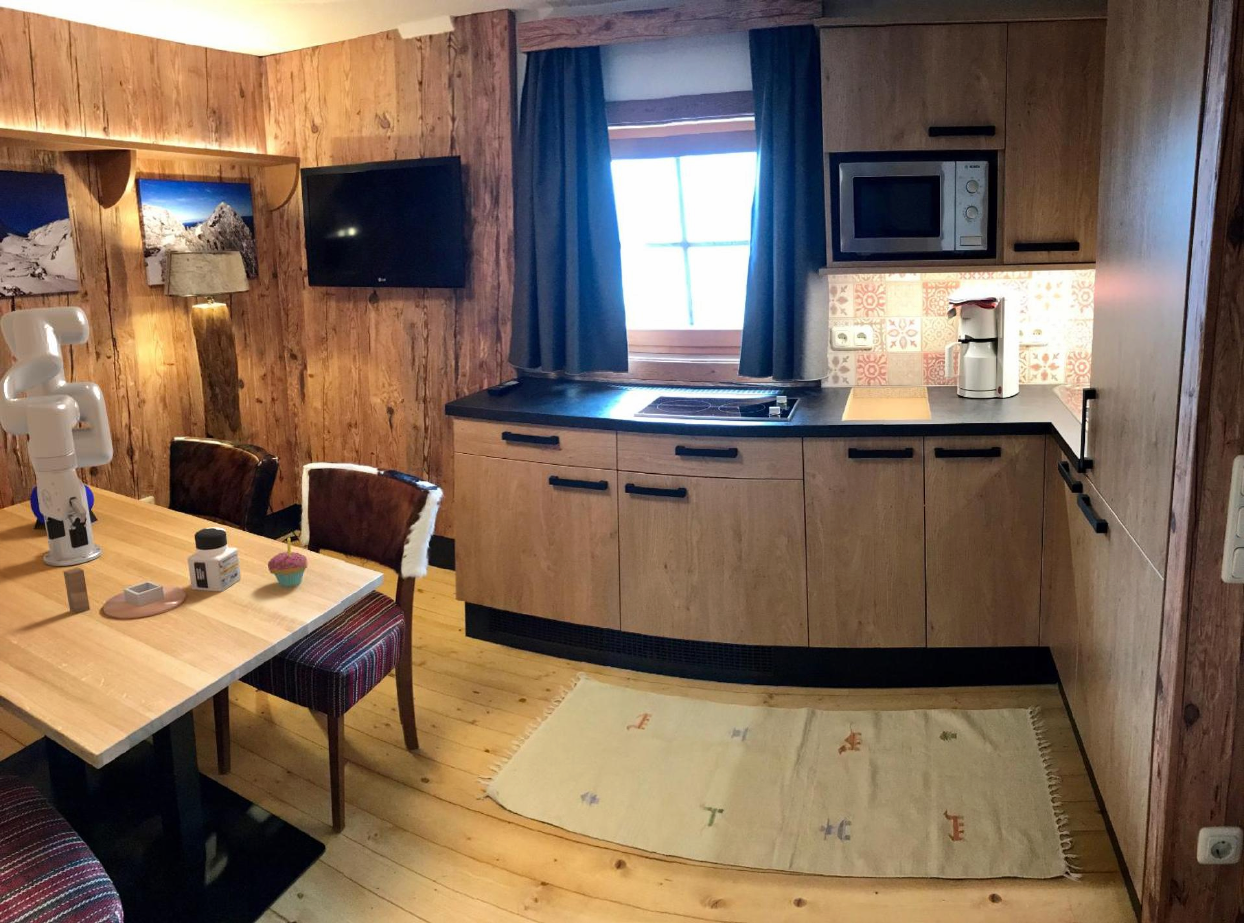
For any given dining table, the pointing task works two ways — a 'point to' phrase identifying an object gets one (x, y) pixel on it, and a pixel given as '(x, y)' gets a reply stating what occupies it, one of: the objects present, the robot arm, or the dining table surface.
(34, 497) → the alarm clock
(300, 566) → the cupcake
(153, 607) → the clip base
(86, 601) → the wooden square post
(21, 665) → the dining table surface
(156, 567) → the dining table surface
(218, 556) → the container
